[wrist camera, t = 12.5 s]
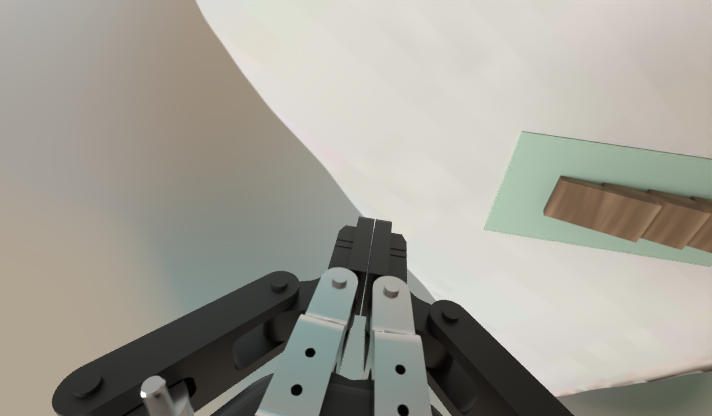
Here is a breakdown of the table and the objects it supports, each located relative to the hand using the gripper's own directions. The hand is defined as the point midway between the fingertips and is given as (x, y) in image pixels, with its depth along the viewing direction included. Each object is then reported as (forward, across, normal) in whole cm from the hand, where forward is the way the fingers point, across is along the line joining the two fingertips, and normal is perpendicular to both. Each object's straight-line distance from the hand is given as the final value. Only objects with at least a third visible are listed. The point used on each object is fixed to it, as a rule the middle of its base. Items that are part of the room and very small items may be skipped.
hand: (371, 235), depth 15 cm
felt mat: (+27, -31, +8) cm, 42 cm away
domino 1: (+26, -22, +8) cm, 35 cm away
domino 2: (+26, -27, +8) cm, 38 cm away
